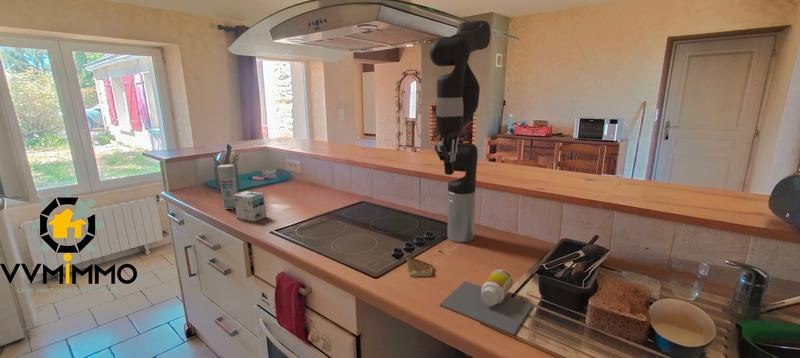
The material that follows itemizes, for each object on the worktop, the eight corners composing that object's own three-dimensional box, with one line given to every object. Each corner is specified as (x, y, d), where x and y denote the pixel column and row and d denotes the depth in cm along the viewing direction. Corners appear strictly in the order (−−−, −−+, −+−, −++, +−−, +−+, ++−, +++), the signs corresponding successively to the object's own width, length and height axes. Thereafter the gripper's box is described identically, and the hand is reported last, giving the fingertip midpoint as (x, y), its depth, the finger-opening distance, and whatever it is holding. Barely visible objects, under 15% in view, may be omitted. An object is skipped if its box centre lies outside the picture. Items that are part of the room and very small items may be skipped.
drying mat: (464, 282, 93) (464, 281, 93) (532, 305, 82) (533, 304, 82) (439, 305, 83) (439, 304, 83) (513, 335, 72) (513, 334, 72)
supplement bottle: (488, 270, 90) (473, 288, 82) (507, 266, 87) (494, 285, 78) (497, 290, 90) (483, 310, 81) (517, 286, 86) (504, 307, 78)
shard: (406, 260, 107) (406, 255, 106) (431, 259, 107) (431, 254, 106) (408, 278, 96) (408, 272, 96) (435, 277, 96) (435, 271, 96)
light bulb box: (267, 217, 147) (264, 192, 144) (254, 222, 141) (251, 197, 138) (249, 213, 151) (245, 190, 148) (236, 218, 145) (232, 194, 143)
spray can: (239, 204, 164) (234, 163, 159) (238, 208, 158) (232, 166, 153) (224, 206, 162) (218, 165, 157) (223, 210, 156) (216, 167, 151)
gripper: (449, 112, 103) (448, 168, 108) (425, 115, 93) (426, 177, 98) (472, 112, 99) (470, 171, 103) (450, 116, 89) (449, 180, 93)
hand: (449, 174), depth 101 cm, fingers closed
